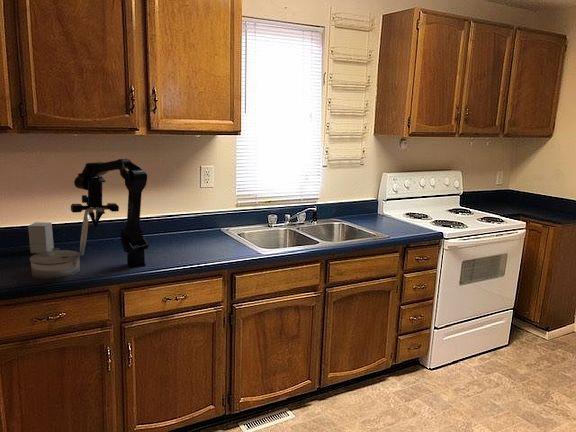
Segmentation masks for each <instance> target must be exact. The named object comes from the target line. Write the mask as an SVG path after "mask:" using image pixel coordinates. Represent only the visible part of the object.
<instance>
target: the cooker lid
mask: <svg viewBox="0 0 576 432" xmlns="http://www.w3.org/2000/svg"><path fill="white" fill-rule="evenodd" d="M82 219H83V220H82V225H81V234H80V241H79V242H80V244H79V253H80V256H84V254H85V251H86V250H85V249H86V245H87V238H88V232H89V231H88V229H89V220H90V215H89V211H88V210H84V213H83V218H82Z"/></svg>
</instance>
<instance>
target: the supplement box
mask: <svg viewBox="0 0 576 432" xmlns="http://www.w3.org/2000/svg"><path fill="white" fill-rule="evenodd" d="M52 224H53V223H52V222H39V221H38V222H37V221H36V222H33V223H32V224H31V223H30V224H29V225H27V228H28V229H27V230H28V237H29V238H28V239H29V250H30V251H29V252H30V254H38V253H42V252H48V251H52V248H55V245H54V235H53V225H52Z"/></svg>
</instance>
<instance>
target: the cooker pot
mask: <svg viewBox="0 0 576 432" xmlns="http://www.w3.org/2000/svg"><path fill="white" fill-rule="evenodd" d="M80 257H81V255H80V252H78V251H76V250H67V249H62V250H61V249H60V247H54V248H52V251H48V252H42V253H34V254H33V255H31V256H30V257H29V262H30V269H31V276H32V277H34V278H36V279H37V278H38V279H43V280H45V279H49V280H52V279H61V278H66V277H71V276H73V275H76V274H78V273H79V272H80V270H81V263H80V262H81V260H80Z"/></svg>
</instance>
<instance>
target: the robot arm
mask: <svg viewBox="0 0 576 432" xmlns="http://www.w3.org/2000/svg"><path fill="white" fill-rule="evenodd" d="M117 170H118V171H119V175H120V177H121V178H122V179H123V180H124V184H125V185H124V186H125V187H126V189H127V191H128V198H127V212H126V213H127V214H126V225H125V227H122V228H121V229H120V236H119V238H120V241H121V245H122V249H123V251H124V252H125V253H126V255H125V257H126V265H127V266H128V268H135V267H143V266H144V267H145V266H146V262H145V250H148V249H149V243H148V241H147V240H146V238H145V237H144V232H143V229H142V227H141V226H140V224H141V223H140V222H141V207H142V193H143V190H144V189H145V188H146V186H147V181H148V173H146V171H145V169H143V168H142V167H141V166H140V165H137V164H136V163H134V162H132V160H131V159H128V158H119V159H116V160H111V161H106V162H102V161H97V162H87V163H85V165H84V167H83V169H82V172H80V173H78V174H77V176H76V177H75V179H74V182H73V184H74V186H75V187H76V188H77V189H81V190H83V191H84V190H85V191H87V194H86V195H85V194H82V195H81V203H82V204H86V205H82V204H81V203H72V204H70V211H71V212H72V213H82V212H83V211H85V210H88V211H89V218H90V220H91V223H92V225H93V228H97V226H98V225H99V221H100V219H101V217H102V215H104V214H106V212H105V211H106V210H109V211H110V212H115V213H117V212H120V211H119V210H120V208H119V205H118V204H117V203H116V202H108V203H107V204H104V205H103V183H106V180H105V178H104V177H103V176H104V175H105V174H107V173H108V172H112V171H117ZM94 211H95V212H94Z"/></svg>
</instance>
